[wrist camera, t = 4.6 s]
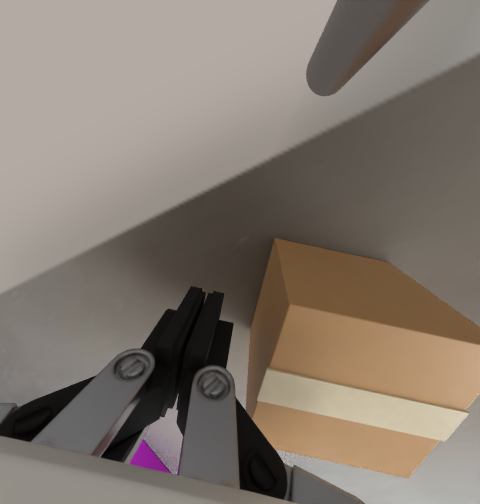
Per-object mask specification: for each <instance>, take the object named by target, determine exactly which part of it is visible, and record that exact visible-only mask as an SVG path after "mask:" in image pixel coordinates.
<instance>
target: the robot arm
mask: <svg viewBox="0 0 480 504" xmlns="http://www.w3.org/2000/svg"><path fill="white" fill-rule="evenodd" d="M205 294H206V292H202V288H197V287H193V286H191V287H190V289H189V290H188V292H187V294H186V296H185V297H184V299H183V301H182V302H181V304H180V306H179V308H178V309H177V311H176V310H172V309H167V310H166V311H165V313H164V314H163V316H162V317H161V319H160V320H159V322H158V323H157V325H156V326H155V328H154V329H153V331H152V332H151V334H150V335H149V337H148V338H147V340H146V341H145V343H144V344H143V346H142V348H141V349H130V350H126V351H124V352H122V353H120V354H119V355H117V356H116V357H115V358H114V359H113V360H112V361H111V362H110V363H109V364H108V365H107V366H106V367H105V368H104V369H103V370H102V371H101V372H100V373H99V374H98V375H96V376H94V377H91V378H89V379H86V380H84V381H81V382H79V383H76V384H73V385H71V386H68V387H66V388H63V389H61V390H58V391H56V392H53V393H51V394H48V395H45V396H43V397H40V398H38V399H35V400H33V401H31V402H29V403H27V404H25V405H23V406H21V407H17V404H16V403H0V504H365V503H364V502H362V501H361V500H360V499H358V498H357V497H356V496H354V495H352V494H350V493H348V492H346V491H344V490H342V489H340V488H338V487H336V486H334V485H332V484H330V483H329V482H327V481H325V480H323V479H321V478H319V477H317V476H315V475H313V474H311V473H309V472H307V471H305V470H303V469H301V468H300V467H298V466H296V465H294V466H293V468H292V467H290V466H288V465H286V464H284V463H283V461H282V460H281V458H280V456H279V455H278V453H277V452H276V451H275V449H274V448H273V447H272V445H271V444H270V443H269V441H268V440H267V439H266V437H265V436H264V435H263V433H262V432H261V431H260V429H259V428H258V427H257V425H256V424H255V423H254V421H253V420H252V418H251V417H250V416H249V414H248V413H247V412H246V410H245V409H244V408H243V406H242V405H241V404H240V402H239V401H238V400H237V398H236V397H235V383H234V379H233V377H232V375H231V373H230V372H229V371H228V370H226V366H227V360H228V354H229V348H230V342H231V336H232V330H233V323H231V322H226V321H222V320H219V317H220V313H221V308H222V303H223V298H224V293H220V292H216V291H213V294H211V293H208V296H207V298H206V301H205V303H204V300H205ZM178 393H179V395H178ZM177 396H178V402H177V410H178V416H177V425H178V427H179V429H180V431H181V433H182V435H183V441H182V448H181V454H180V461H179V468H178V474H177V475H176V474H171V473H167V472H162V471H158V470H153V469H149V468H144V467H140V466H135V465H131V464H129V463H130V461H131V459H132V458H133V456H134V454H135V452H136V451H137V449H138V447H139V446H140V444H141V442H142V440H143V439H144V437H145V435H146V433H147V431H148V429H149V427H150V424H152V423H153V422H155V421H157V420H158V419H159V418H160V416H161V417H165V414H166V411H167V409H168V408H171V409H172V408H173V406H174V404H175V401H176V398H177Z"/></svg>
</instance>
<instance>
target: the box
mask: <svg viewBox="0 0 480 504" xmlns="http://www.w3.org/2000/svg"><path fill="white" fill-rule="evenodd" d="M479 394H480V327H478V326H477V325H476V324H474V323H473V322H471V321H470V320H469V319H467V318H466V317H464V316H463V315H462V314H460V313H459V312H457V311H456V310H455V309H453V308H452V307H450V306H449V305H448V304H446V303H445V302H443V301H442V300H441V299H439V298H438V297H436V296H435V295H434V294H432V293H431V292H430V291H428V290H427V289H425V288H424V287H423V286H421V285H420V284H418V283H417V282H416V281H414V280H413V279H411V278H410V277H409V276H407V275H406V274H404V273H403V272H402V271H400V270H399V269H397V268H396V267H395V266H393V265H392V264H390V263H389V262H385V261H380V260H375V259H371V258H366V257H361V256H357V255H352V254H347V253H343V252H338V251H333V250H328V249H324V248H319V247H314V246H310V245H305V244H300V243H296V242H291V241H286V240H281V239H277V238H275V239H274V242H273V246H272V250H271V254H270V257H269V261H268V265H267V269H266V273H265V276H264V280H263V284H262V288H261V291H260V295H259V299H258V303H257V307H256V310H255V314H254V318H253V322H252V325H251V329H250V345H249V363H248V381H247V399H246V412H247V413H248V414H249V416H250V417H251V418H252V420H253V421H254V423H255V424H256V425H257V427H258V428H259V429H260V431H261V432H262V433H263V435H264V436H265V437H266V439H267V440H268V441H269V443H270V444H271V445H272V447H273V448H274V449H277V450H282V451H286V452H291V453H295V454H300V455H304V456H309V457H313V458H318V459H322V460H327V461H331V462H336V463H341V464H345V465H350V466H354V467H359V468H363V469H368V470H372V471H377V472H381V473H386V474H390V475H395V476H400V477H404V478H409V477H410V476H411V474H412V473H413V472H414V471H415V470H416V468H417V467H418V466H419V465H420V464H421V463H422V461H423V460H424V459H425V458H426V457H427V455H428V454H429V453H430V452H431V451H432V449H433V448H434V447H435V446H436V445H437V444H438V442H439V441H444V442H445V441H446V440H447V439H448V437H449V436H450V435H451V434H452V433H453V432H454V430H455V429H456V428H457V427H458V426H459V425H460V423H461V422H462V421H463V420H464V419H465V418H466V416H467V415H468V414H469V413H468V412H467V411H466V409H467V408H468V407H469V406H470V404H471V403H472V402H473V401H474V400H475V398H476V397H477V396H478V395H479Z"/></svg>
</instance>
